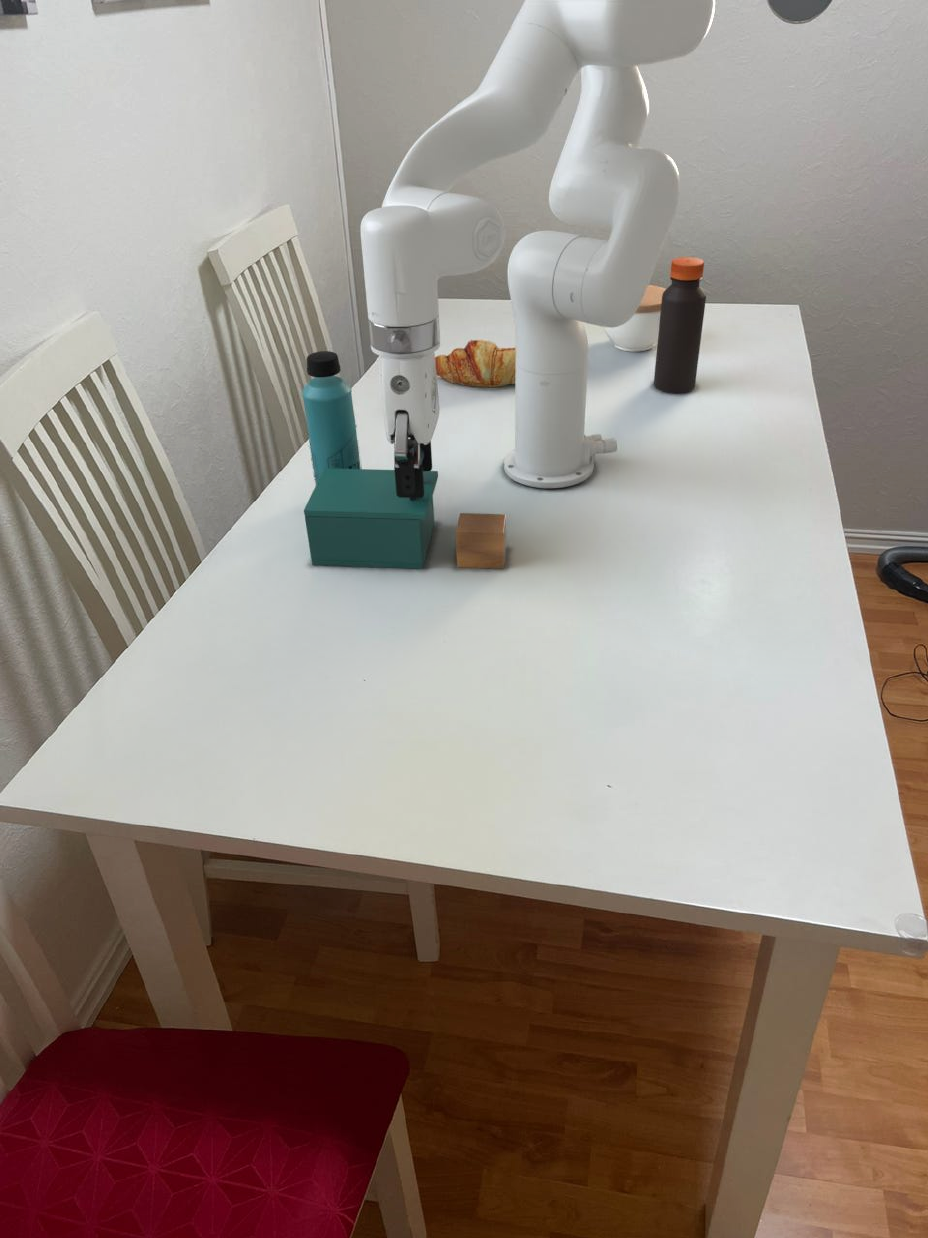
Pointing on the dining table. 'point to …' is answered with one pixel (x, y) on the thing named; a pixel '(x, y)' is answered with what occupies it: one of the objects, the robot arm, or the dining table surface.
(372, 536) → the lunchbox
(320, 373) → the beverage bottle
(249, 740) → the dining table surface
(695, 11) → the robot arm
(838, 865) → the dining table surface
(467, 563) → the block
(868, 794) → the dining table surface
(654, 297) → the lidded bowl
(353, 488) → the lunchbox lid
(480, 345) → the croissant
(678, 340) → the vinegar
